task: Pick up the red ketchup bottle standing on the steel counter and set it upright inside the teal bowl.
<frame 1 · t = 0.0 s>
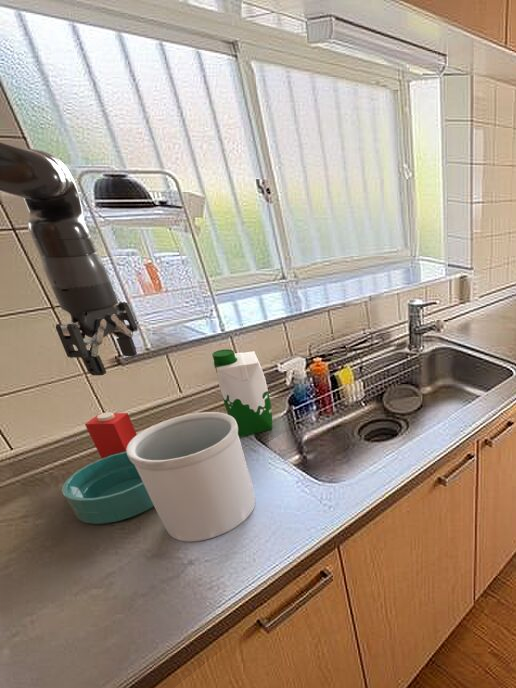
hand: (115, 364, 80), 22 cm above the counter, tool pointing down, fingers open, 8 cm apart
milk carton: (254, 427, 102), on the counter
teal bowl: (128, 497, 79), on the counter
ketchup: (126, 462, 88), on the counter
utensil holder: (213, 513, 77), on the counter
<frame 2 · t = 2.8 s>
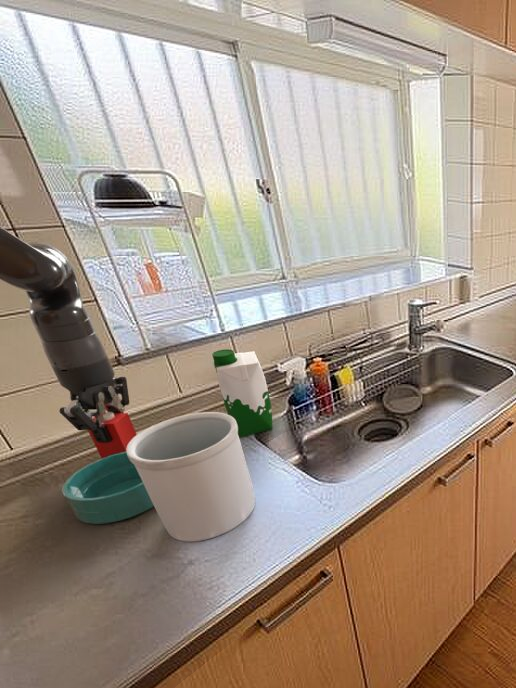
hand: (114, 434, 85), 7 cm above the counter, tool pointing down, fingers closed on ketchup, 4 cm apart
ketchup: (126, 462, 88), on the counter, touching gripper
everything else where it was.
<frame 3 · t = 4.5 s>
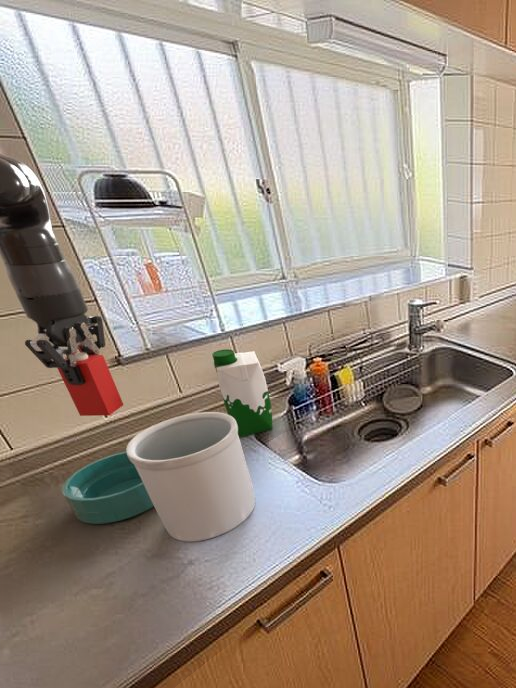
hand: (87, 378, 79), 20 cm above the counter, tool pointing down, fingers closed on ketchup, 4 cm apart
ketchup: (102, 410, 82), point 13 cm above the counter, touching gripper
everything else where it was.
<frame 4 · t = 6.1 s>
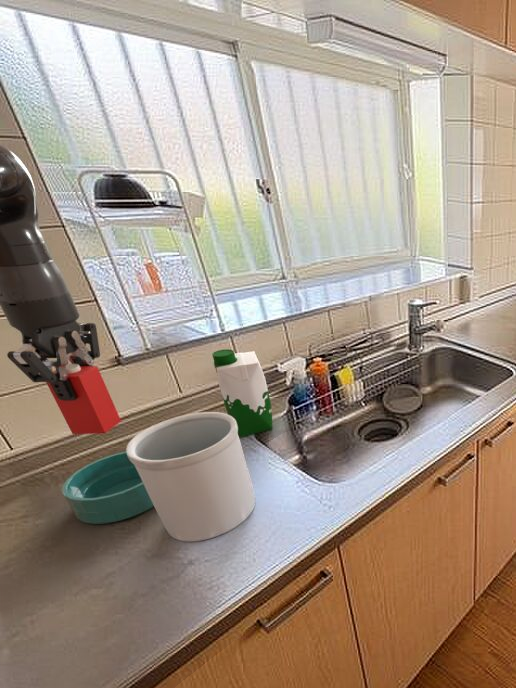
hand: (80, 392, 70), 22 cm above the counter, tool pointing down, fingers closed on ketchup, 4 cm apart
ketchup: (97, 427, 74), point 15 cm above the counter, touching gripper
everything else where it was.
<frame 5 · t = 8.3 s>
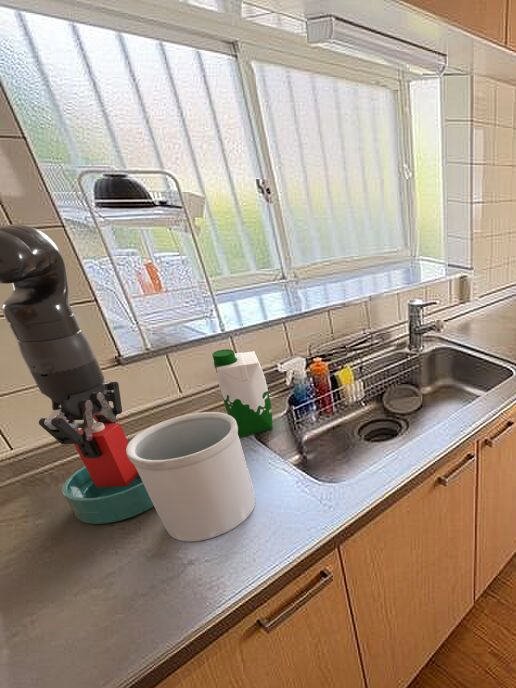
hand: (104, 448, 74), 12 cm above the counter, tool pointing down, fingers closed on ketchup, 4 cm apart
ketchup: (119, 479, 77), point 4 cm above the counter, touching gripper
everything else where it was.
when the fingers open (8 cm above the counter, at t = 9.8 s): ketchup stays where it is, resting on teal bowl.
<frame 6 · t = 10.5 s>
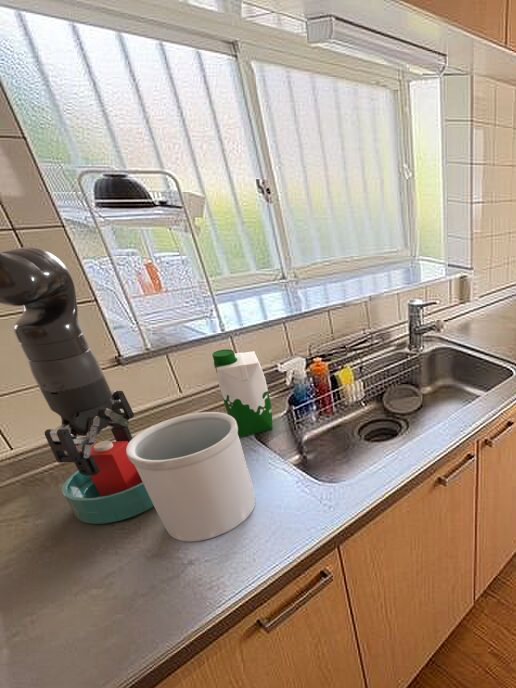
hand: (109, 458, 75), 9 cm above the counter, tool pointing down, fingers open, 8 cm apart
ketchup: (127, 495, 79), point 1 cm above the counter, touching teal bowl
everything else where it was.
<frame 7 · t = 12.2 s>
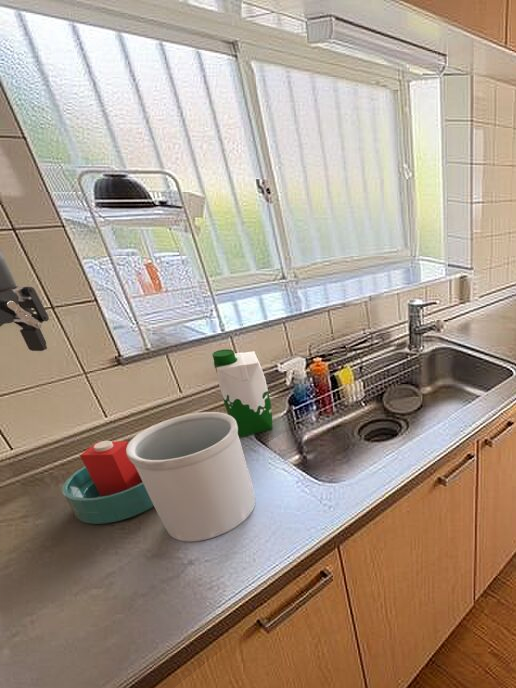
hand: (15, 360, 67), 28 cm above the counter, tool pointing down, fingers open, 8 cm apart
nothing on the counter moved.
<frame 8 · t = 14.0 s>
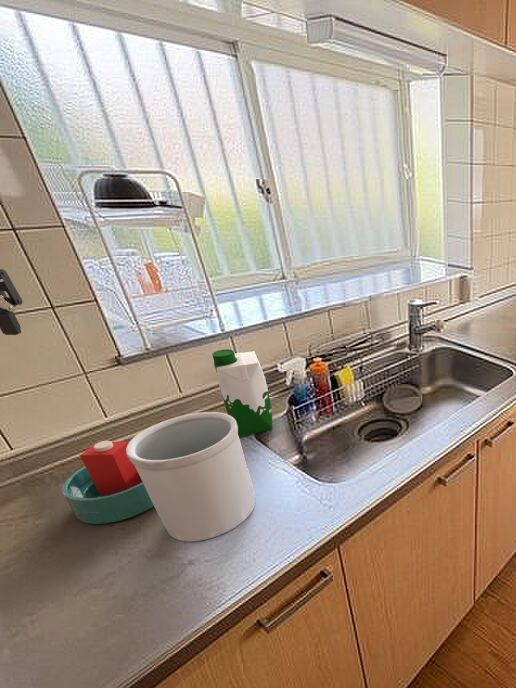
nothing on the counter moved.
at the end: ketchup inside the target area in the teal bowl (0.0 cm from its centre), point 0.6 cm above the teal bowl's base; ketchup tilted 0°; the gripper is holding nothing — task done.
